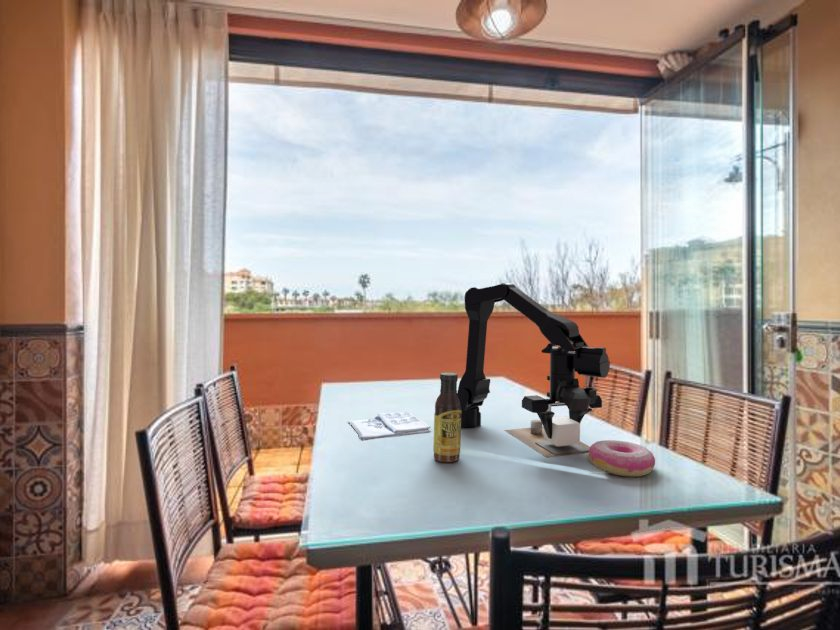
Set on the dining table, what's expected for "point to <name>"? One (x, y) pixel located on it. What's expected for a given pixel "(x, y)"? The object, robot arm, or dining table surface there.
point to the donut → (622, 458)
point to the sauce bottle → (447, 420)
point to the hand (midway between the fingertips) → (561, 437)
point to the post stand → (545, 441)
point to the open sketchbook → (389, 425)
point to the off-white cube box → (564, 432)
